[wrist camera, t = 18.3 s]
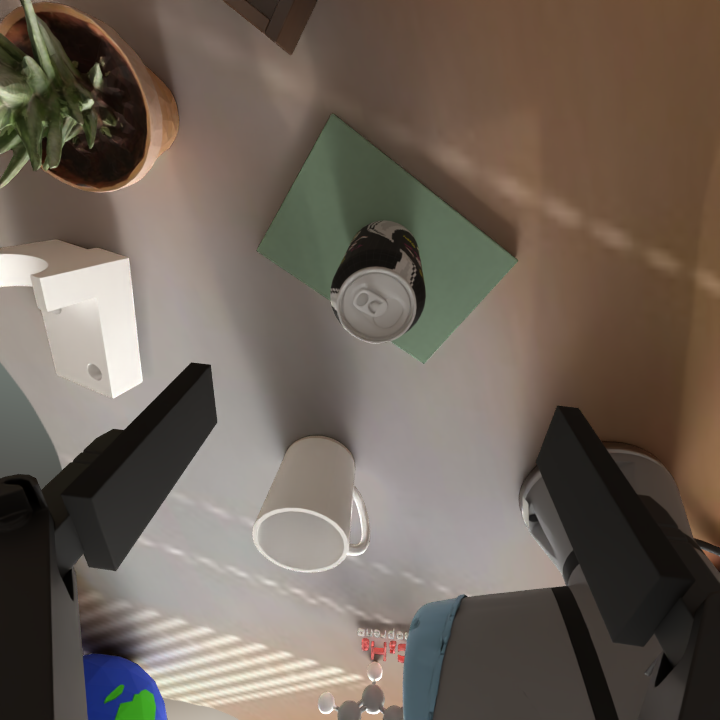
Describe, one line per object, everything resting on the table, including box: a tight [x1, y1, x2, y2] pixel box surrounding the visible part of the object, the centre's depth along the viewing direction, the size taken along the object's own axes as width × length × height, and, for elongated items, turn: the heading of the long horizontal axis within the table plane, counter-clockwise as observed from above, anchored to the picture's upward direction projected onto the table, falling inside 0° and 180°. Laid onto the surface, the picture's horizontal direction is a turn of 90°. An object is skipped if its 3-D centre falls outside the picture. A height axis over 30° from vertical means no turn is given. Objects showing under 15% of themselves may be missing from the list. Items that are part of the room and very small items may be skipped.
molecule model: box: [318, 628, 409, 720], centre depth 57 cm, size 20×16×16 cm
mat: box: [257, 113, 518, 364], centre depth 33 cm, size 18×12×1 cm, turn 55°
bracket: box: [0, 239, 143, 399], centre depth 35 cm, size 13×7×8 cm, turn 170°
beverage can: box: [330, 220, 426, 344], centre depth 27 cm, size 6×6×12 cm
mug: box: [252, 436, 370, 573], centre depth 41 cm, size 11×9×10 cm
